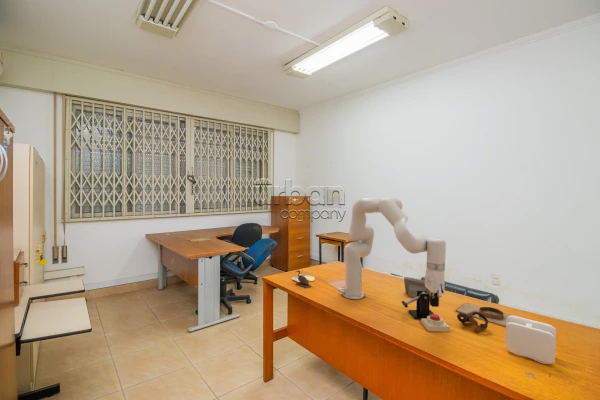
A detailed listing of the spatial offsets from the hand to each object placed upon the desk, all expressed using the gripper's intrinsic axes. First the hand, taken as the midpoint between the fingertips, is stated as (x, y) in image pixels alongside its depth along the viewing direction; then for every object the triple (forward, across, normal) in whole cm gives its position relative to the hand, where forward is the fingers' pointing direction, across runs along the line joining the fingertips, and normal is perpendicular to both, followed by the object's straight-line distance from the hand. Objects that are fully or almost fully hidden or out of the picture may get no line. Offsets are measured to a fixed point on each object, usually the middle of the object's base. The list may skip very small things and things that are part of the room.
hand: (434, 305), depth 128 cm
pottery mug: (+10, 0, +17) cm, 20 cm away
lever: (+3, -12, -4) cm, 13 cm away
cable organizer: (+9, +20, +27) cm, 35 cm away
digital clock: (+10, -38, +8) cm, 40 cm away
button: (+6, 0, 0) cm, 6 cm away
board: (+10, -12, +33) cm, 36 cm away
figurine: (+11, -56, -61) cm, 84 cm away
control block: (+10, 0, 0) cm, 10 cm away
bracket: (+10, -12, 0) cm, 15 cm away
